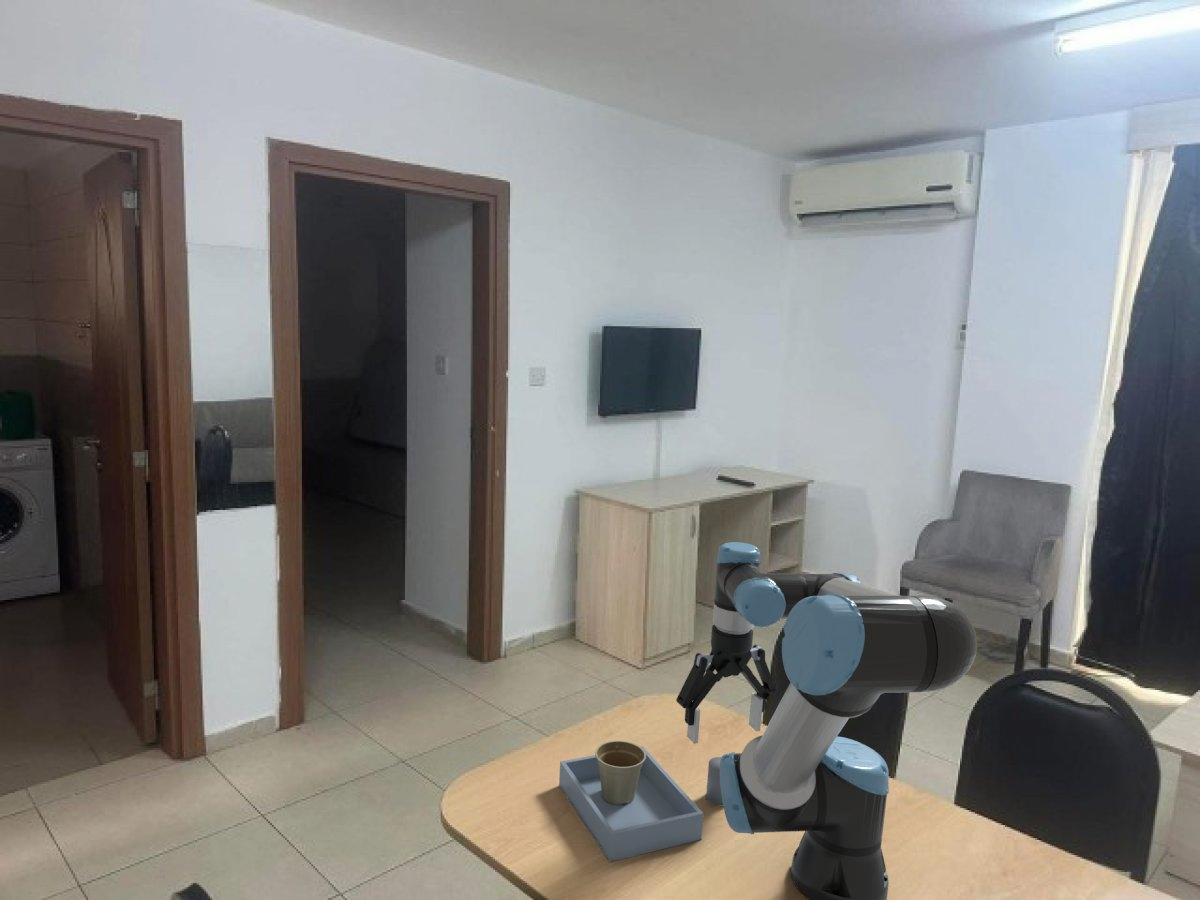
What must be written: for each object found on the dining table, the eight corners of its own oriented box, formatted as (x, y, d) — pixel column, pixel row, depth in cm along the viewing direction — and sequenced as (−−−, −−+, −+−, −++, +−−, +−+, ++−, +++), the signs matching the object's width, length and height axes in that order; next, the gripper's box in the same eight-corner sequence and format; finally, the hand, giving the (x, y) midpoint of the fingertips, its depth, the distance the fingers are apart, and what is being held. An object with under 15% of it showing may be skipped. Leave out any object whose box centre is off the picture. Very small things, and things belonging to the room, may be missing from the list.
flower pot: (644, 812, 150) (646, 768, 148) (592, 809, 150) (594, 765, 148) (642, 783, 159) (645, 742, 158) (593, 780, 159) (595, 739, 158)
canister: (737, 802, 155) (740, 768, 154) (714, 808, 153) (717, 773, 152) (723, 788, 160) (726, 755, 159) (701, 793, 158) (703, 759, 157)
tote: (701, 839, 144) (703, 813, 143) (609, 861, 137) (611, 834, 136) (641, 769, 165) (642, 746, 164) (559, 785, 158) (560, 761, 157)
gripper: (777, 612, 159) (767, 714, 163) (662, 626, 149) (655, 734, 153) (801, 626, 153) (790, 732, 156) (683, 642, 143) (675, 755, 146)
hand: (723, 733), depth 155 cm, fingers open, 13 cm apart
